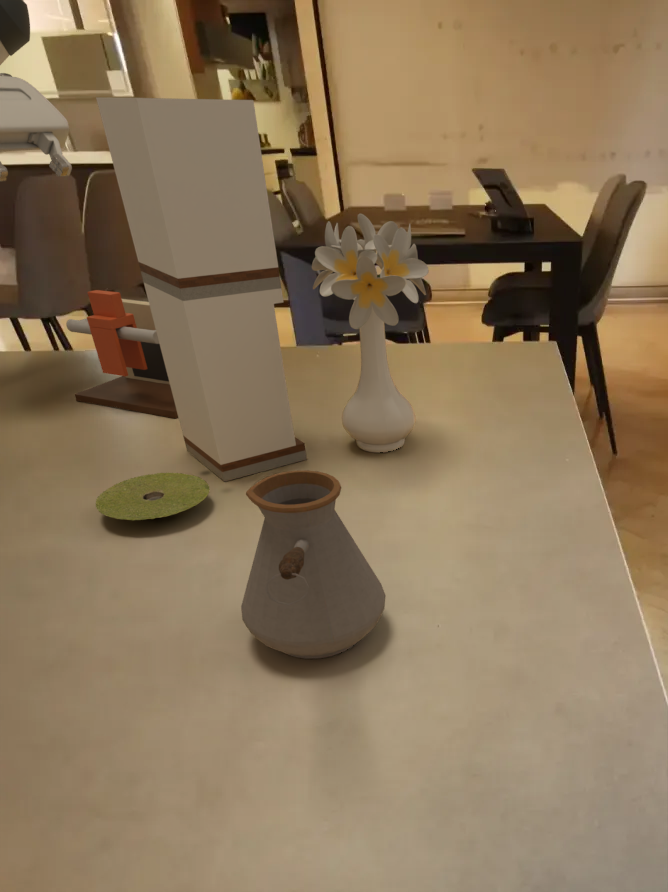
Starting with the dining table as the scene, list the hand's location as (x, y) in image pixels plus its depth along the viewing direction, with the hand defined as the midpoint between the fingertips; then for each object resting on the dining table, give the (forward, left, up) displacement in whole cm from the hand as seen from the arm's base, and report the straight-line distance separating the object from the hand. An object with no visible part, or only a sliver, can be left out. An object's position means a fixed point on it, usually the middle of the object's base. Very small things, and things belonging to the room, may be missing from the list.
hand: (35, 174), depth 86 cm
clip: (+5, -3, -23) cm, 23 cm away
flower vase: (+42, -19, -28) cm, 54 cm away
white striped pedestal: (+25, -22, -28) cm, 43 cm away
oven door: (+7, 0, -27) cm, 28 cm away
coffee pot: (+40, -64, -28) cm, 80 cm away
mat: (+19, -37, -28) cm, 50 cm away
